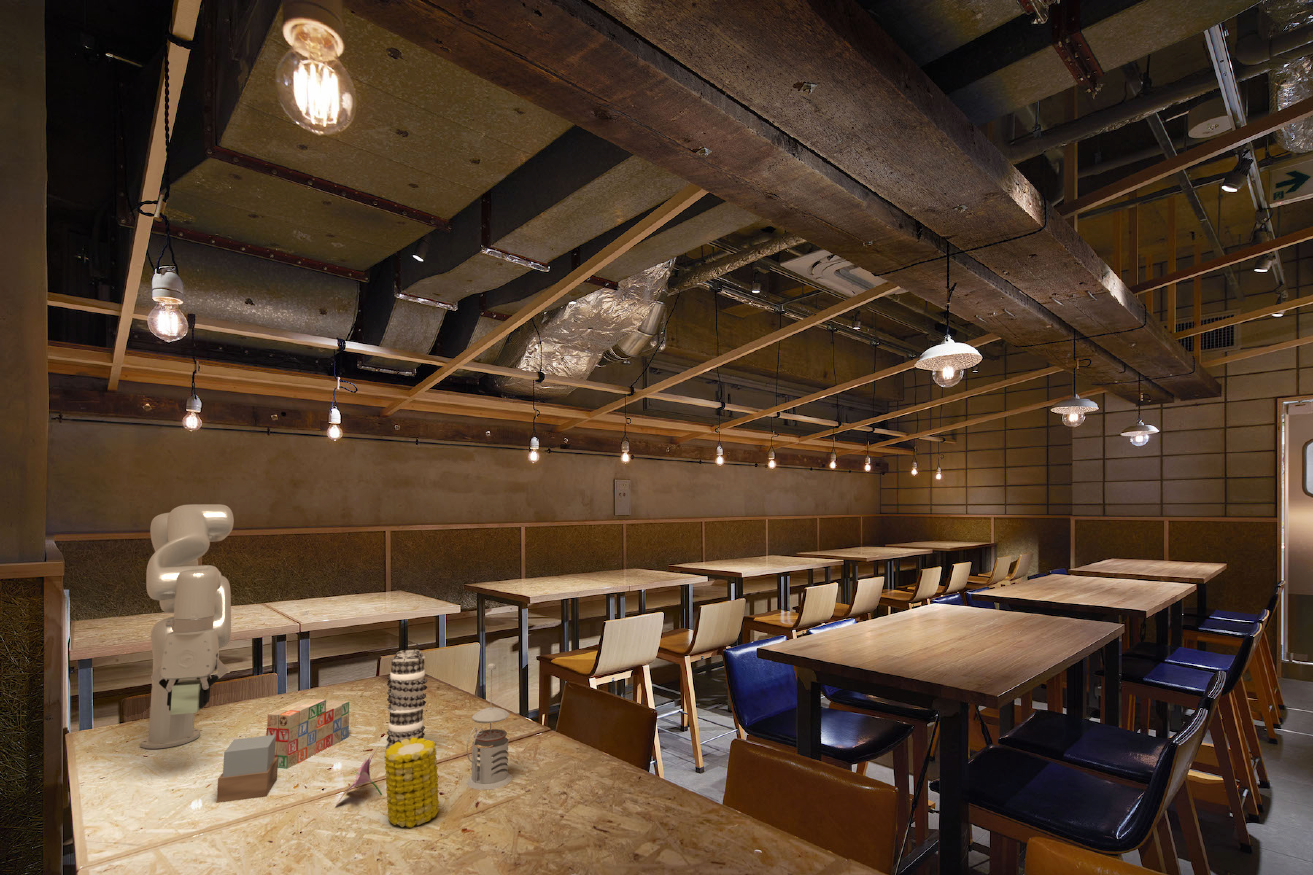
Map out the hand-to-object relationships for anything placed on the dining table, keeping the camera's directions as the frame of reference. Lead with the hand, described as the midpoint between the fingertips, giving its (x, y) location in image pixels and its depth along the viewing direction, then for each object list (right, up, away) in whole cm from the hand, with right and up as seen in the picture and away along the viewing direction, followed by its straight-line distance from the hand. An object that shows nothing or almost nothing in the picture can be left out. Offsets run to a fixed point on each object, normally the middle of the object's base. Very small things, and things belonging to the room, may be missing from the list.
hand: (188, 706), depth 147 cm
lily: (+44, -15, -11) cm, 47 cm away
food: (+58, -14, -20) cm, 63 cm away
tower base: (+18, -15, -7) cm, 25 cm away
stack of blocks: (+19, -18, +15) cm, 30 cm away
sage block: (0, -1, 0) cm, 1 cm away
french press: (+68, -15, -3) cm, 70 cm away
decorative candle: (+45, -17, +10) cm, 49 cm away
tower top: (+18, -10, -7) cm, 22 cm away
